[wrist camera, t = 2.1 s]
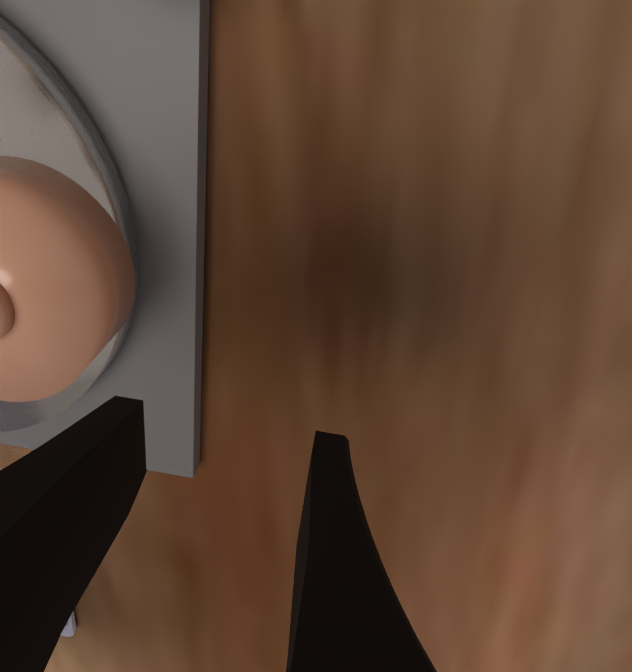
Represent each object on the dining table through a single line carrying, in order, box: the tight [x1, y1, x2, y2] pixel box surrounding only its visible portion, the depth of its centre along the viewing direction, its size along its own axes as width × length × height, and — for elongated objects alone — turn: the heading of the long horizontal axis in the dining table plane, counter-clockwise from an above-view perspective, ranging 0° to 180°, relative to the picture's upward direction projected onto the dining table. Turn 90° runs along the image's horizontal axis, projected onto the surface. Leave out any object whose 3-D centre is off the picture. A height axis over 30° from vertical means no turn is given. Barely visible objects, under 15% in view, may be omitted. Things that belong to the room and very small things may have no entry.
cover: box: [0, 156, 135, 402], centre depth 16 cm, size 7×7×4 cm
